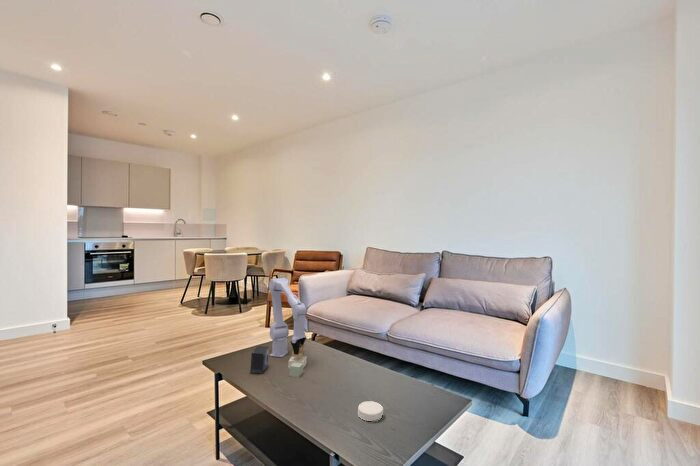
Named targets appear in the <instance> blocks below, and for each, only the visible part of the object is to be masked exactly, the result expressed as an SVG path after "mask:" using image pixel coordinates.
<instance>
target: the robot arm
mask: <svg viewBox="0 0 700 466" xmlns="http://www.w3.org/2000/svg"><path fill="white" fill-rule="evenodd" d="M289 282H290V281H289V279H288V278H287V277H278V278H271V279H269V282H268V287H269V288H268V289H269V294H271V304H272V312H273V323H272V324H271V325H270V327H269V337H270V339H271V340H272V348H271V349H272V352H271V353H269V354H268V357H269V356H270V357H276V358H283V357H284V356H285V355H287V354H288V353H289V350H288V338H287V337H288V336H289V335H290V334H289V333H290V332H289V327H288V324H287V323H286V322H285V321H284V317H283V308H282V298H281V294H282V293H284V295H285V296H286V297H287V301H286V302H287V303H288V305H289V306H290V307H291V313H292V317H293V334H292V338H291V340H290V342H289V343H290V344H291V348H292V347H293V351H294V354H296V355H298V353H299V348H300V345H304V346H305V342H306V340H307V335H306V331H305V324H306V321H305V320H306V315H307V313H308V307H307V305H306V304H307V303H303V302H301V300H300V298H299V297H298V296H297V294H294V293H293V291H292V289H291V288H290V286H289V285H290V283H289Z"/></svg>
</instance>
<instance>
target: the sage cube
mask: <svg viewBox="0 0 700 466" xmlns="http://www.w3.org/2000/svg"><path fill="white" fill-rule="evenodd" d="M303 373H304V369H303V363H296V362H294V363H293V364H292V365H291V366H290V368H289V377H293V378H294V377H295V378H300V377H301V376H302V375H303Z"/></svg>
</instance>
